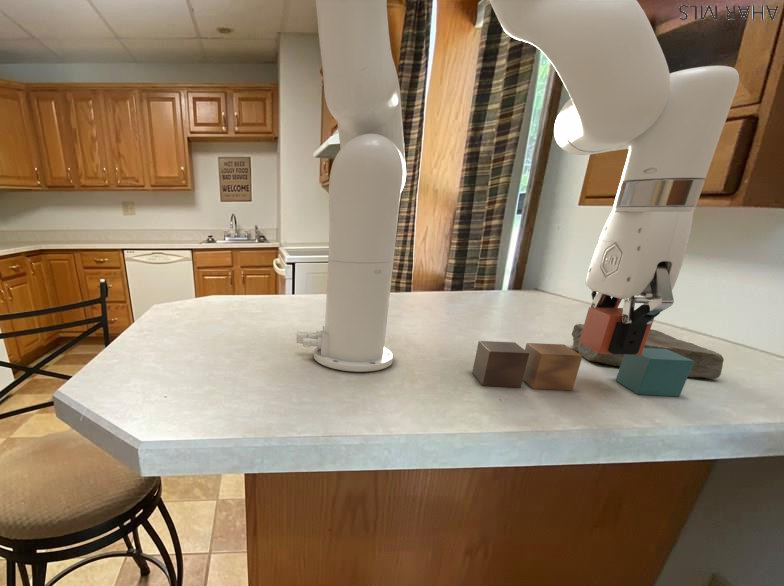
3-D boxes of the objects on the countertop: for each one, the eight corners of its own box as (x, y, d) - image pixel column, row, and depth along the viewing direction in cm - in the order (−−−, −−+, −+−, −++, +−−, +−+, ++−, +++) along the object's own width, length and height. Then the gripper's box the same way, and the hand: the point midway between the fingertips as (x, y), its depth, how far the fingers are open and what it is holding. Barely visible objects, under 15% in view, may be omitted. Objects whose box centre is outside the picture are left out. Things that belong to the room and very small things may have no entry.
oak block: (532, 388, 58) (541, 353, 56) (518, 375, 62) (526, 342, 60) (572, 390, 57) (582, 355, 55) (554, 377, 62) (564, 344, 60)
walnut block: (482, 385, 58) (489, 351, 57) (472, 372, 63) (478, 340, 61) (521, 387, 58) (529, 353, 56) (507, 374, 62) (515, 342, 60)
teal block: (637, 394, 56) (650, 358, 54) (615, 380, 60) (626, 347, 59) (679, 396, 55) (694, 360, 53) (653, 382, 60) (666, 348, 58)
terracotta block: (598, 353, 55) (610, 315, 53) (578, 342, 59) (588, 307, 57) (641, 355, 54) (655, 316, 52) (617, 343, 59) (629, 308, 57)
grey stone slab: (720, 381, 60) (733, 353, 58) (602, 373, 63) (611, 346, 62) (652, 347, 75) (661, 324, 73) (560, 341, 78) (566, 319, 77)
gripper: (582, 200, 58) (549, 329, 65) (672, 196, 42) (616, 367, 49) (642, 199, 57) (603, 331, 64) (757, 196, 41) (688, 370, 48)
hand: (609, 345), depth 56 cm, fingers closed on terracotta block, 5 cm apart
